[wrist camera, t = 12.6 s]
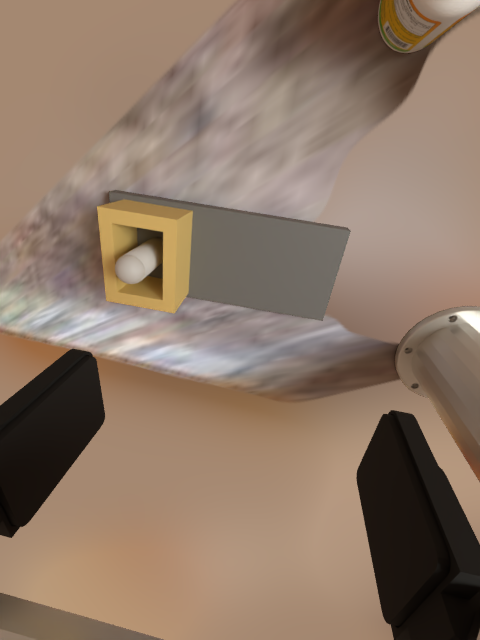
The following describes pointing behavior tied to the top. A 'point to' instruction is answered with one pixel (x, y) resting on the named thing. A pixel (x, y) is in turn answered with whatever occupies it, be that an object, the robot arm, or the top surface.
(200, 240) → the keeper board
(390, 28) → the supplement bottle
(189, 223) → the tan hollow block
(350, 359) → the top surface
